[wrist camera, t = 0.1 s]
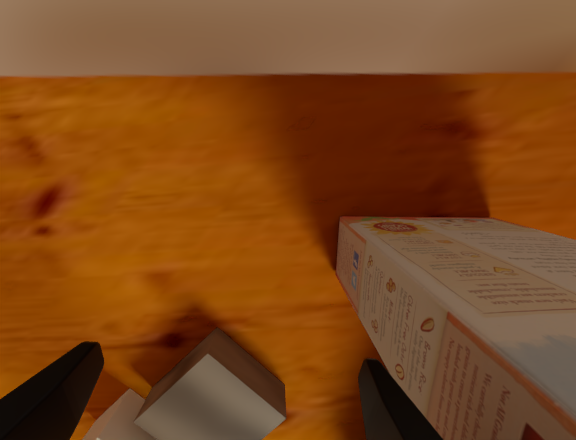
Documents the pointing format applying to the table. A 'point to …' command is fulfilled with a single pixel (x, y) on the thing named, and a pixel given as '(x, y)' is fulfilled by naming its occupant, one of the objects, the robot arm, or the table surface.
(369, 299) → the cereal box
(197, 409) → the grey block
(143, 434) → the cream cube
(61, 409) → the robot arm
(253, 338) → the table surface
